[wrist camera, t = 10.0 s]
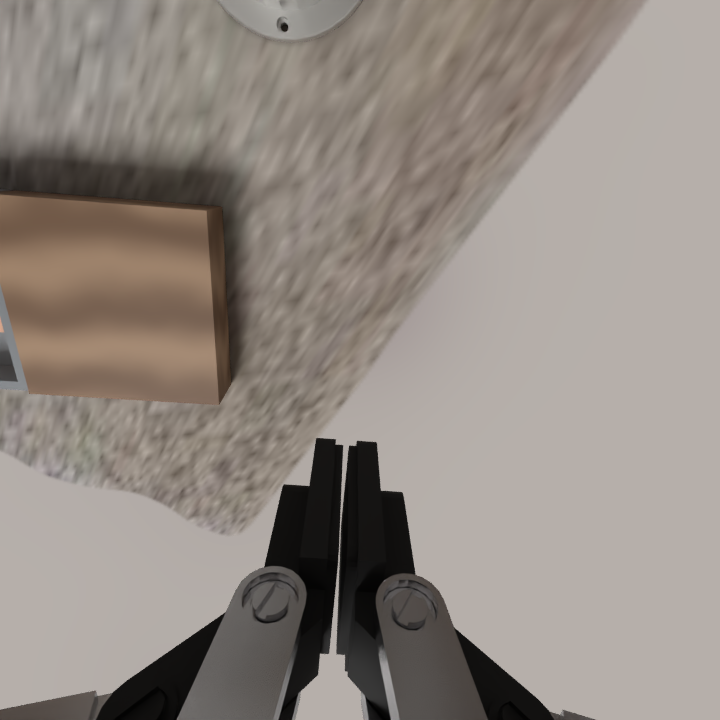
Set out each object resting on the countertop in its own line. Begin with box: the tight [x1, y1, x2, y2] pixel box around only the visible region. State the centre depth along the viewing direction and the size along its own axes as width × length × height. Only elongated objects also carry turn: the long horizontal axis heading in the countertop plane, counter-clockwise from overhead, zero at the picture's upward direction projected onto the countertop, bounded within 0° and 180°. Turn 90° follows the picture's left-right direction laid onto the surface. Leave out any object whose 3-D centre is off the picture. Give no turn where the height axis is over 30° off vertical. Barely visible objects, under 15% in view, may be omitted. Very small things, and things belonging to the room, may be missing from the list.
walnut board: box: [0, 190, 231, 405], centre depth 35 cm, size 16×16×4 cm
